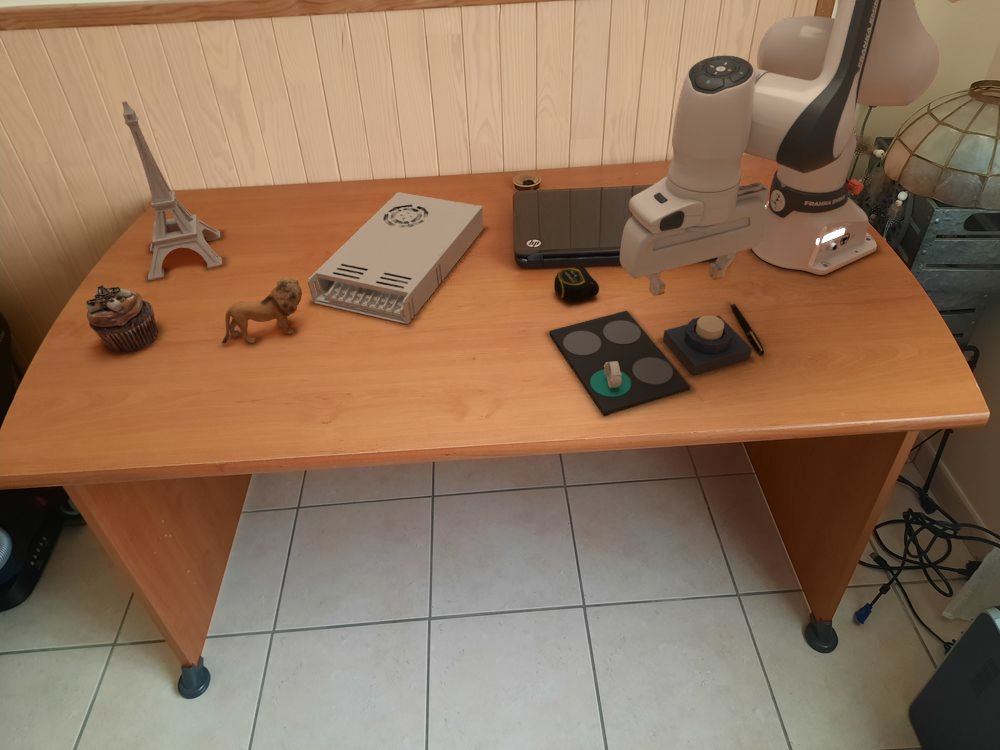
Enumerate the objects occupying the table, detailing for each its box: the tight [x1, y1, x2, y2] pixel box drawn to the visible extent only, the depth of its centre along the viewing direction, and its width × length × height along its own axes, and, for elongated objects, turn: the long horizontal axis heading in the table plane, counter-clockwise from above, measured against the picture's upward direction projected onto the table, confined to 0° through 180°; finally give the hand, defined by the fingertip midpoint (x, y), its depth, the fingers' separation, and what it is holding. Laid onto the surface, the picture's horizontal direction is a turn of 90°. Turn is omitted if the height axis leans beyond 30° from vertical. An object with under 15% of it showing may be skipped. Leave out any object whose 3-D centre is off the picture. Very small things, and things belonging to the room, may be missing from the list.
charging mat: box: [549, 310, 691, 416], centre depth 108 cm, size 14×20×1 cm
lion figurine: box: [221, 276, 303, 344], centre depth 114 cm, size 15×5×9 cm, turn 116°
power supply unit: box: [307, 191, 485, 325], centre depth 129 cm, size 19×33×5 cm, turn 158°
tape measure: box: [553, 264, 600, 302], centre depth 120 cm, size 7×7×4 cm
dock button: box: [696, 314, 724, 340], centre depth 106 cm, size 4×4×2 cm
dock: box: [662, 315, 753, 377], centre depth 108 cm, size 10×9×4 cm
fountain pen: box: [729, 299, 765, 356], centre depth 112 cm, size 14×1×2 cm, turn 7°
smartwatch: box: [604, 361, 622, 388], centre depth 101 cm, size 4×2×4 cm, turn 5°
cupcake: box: [85, 284, 159, 354], centre depth 114 cm, size 10×10×10 cm
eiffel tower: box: [121, 100, 223, 282], centre depth 126 cm, size 13×13×30 cm
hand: (686, 284), depth 98 cm, fingers open, 8 cm apart
